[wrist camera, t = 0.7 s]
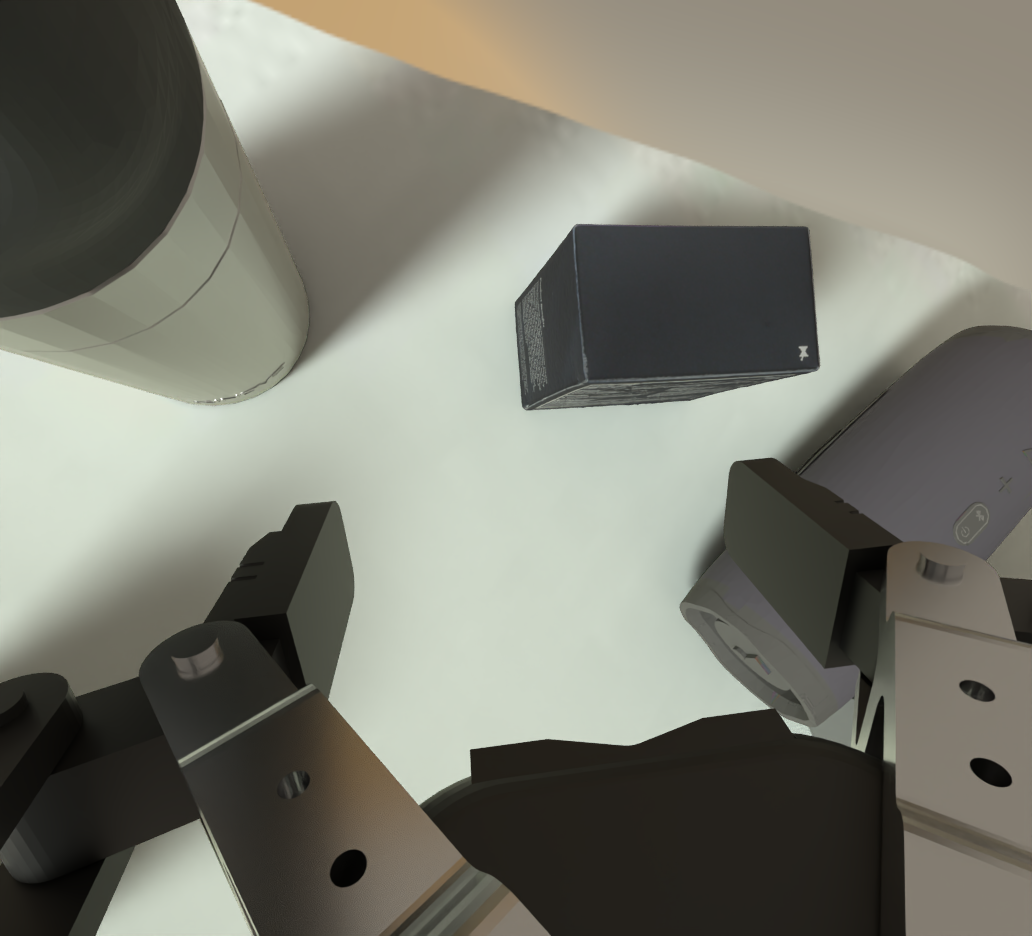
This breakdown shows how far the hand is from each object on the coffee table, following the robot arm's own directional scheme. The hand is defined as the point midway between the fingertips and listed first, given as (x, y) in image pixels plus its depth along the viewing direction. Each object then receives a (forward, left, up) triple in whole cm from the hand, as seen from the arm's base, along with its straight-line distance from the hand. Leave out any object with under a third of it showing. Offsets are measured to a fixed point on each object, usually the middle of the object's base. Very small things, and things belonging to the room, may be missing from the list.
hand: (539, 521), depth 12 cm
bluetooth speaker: (+12, +20, -19) cm, 30 cm away
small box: (-3, +12, -19) cm, 23 cm away
